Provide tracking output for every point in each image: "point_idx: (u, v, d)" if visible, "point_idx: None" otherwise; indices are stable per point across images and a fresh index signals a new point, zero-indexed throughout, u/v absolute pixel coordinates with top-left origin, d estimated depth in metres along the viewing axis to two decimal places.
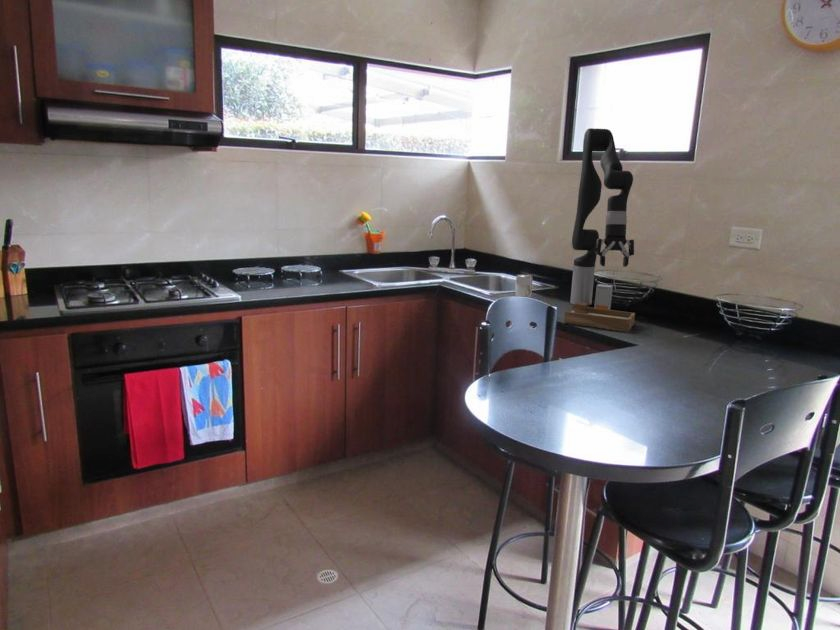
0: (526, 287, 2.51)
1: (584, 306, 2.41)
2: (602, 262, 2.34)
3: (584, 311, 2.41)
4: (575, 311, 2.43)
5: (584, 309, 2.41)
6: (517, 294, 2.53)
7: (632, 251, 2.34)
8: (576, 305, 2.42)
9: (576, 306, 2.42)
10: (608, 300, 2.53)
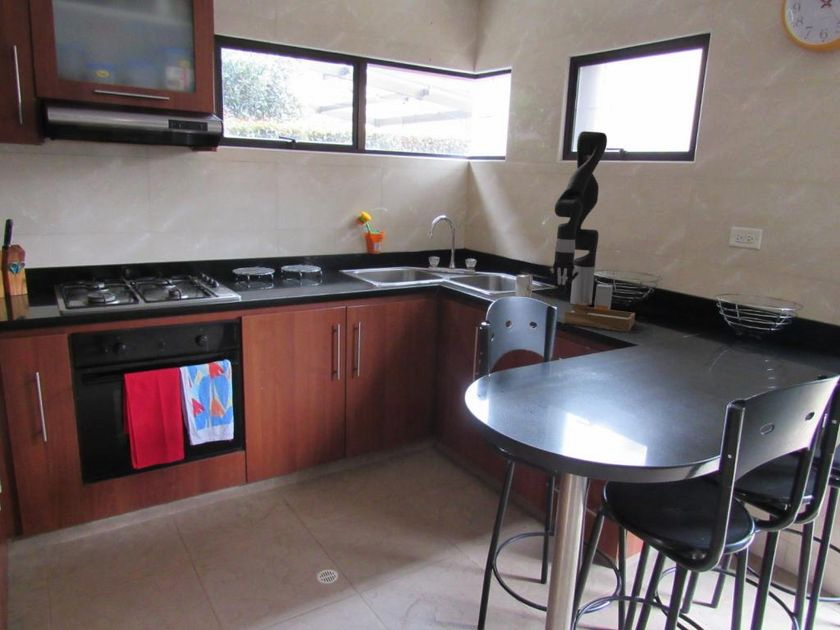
0: (526, 287, 2.51)
1: (584, 306, 2.41)
2: (559, 290, 2.45)
3: (584, 311, 2.41)
4: (575, 311, 2.43)
5: (584, 309, 2.41)
6: (517, 294, 2.53)
7: (568, 280, 2.42)
8: (576, 305, 2.42)
9: (576, 306, 2.42)
10: (608, 300, 2.53)
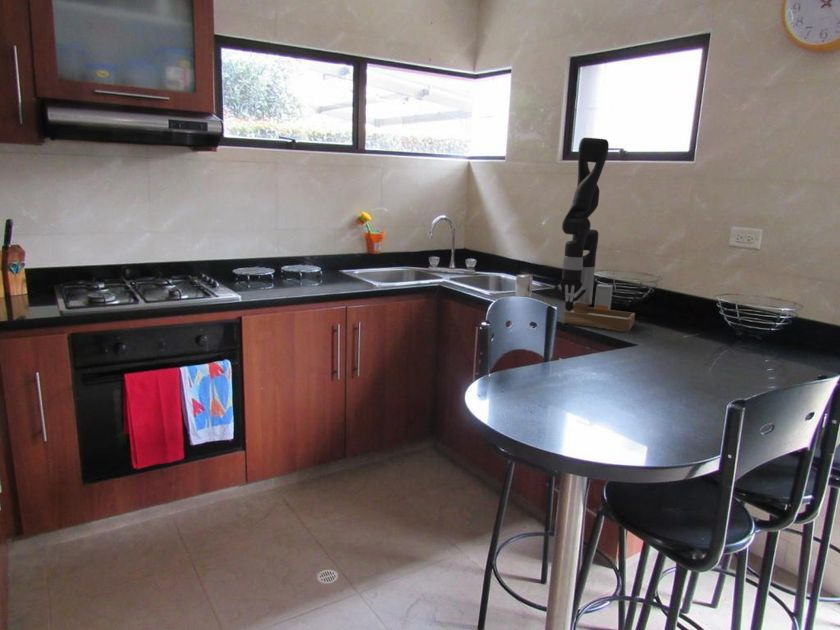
0: (526, 287, 2.51)
1: (584, 306, 2.41)
2: (566, 307, 2.45)
3: (584, 311, 2.41)
4: (575, 311, 2.43)
5: (584, 309, 2.41)
6: (517, 294, 2.53)
7: (575, 297, 2.43)
8: (576, 305, 2.42)
9: (576, 306, 2.42)
10: (608, 300, 2.53)
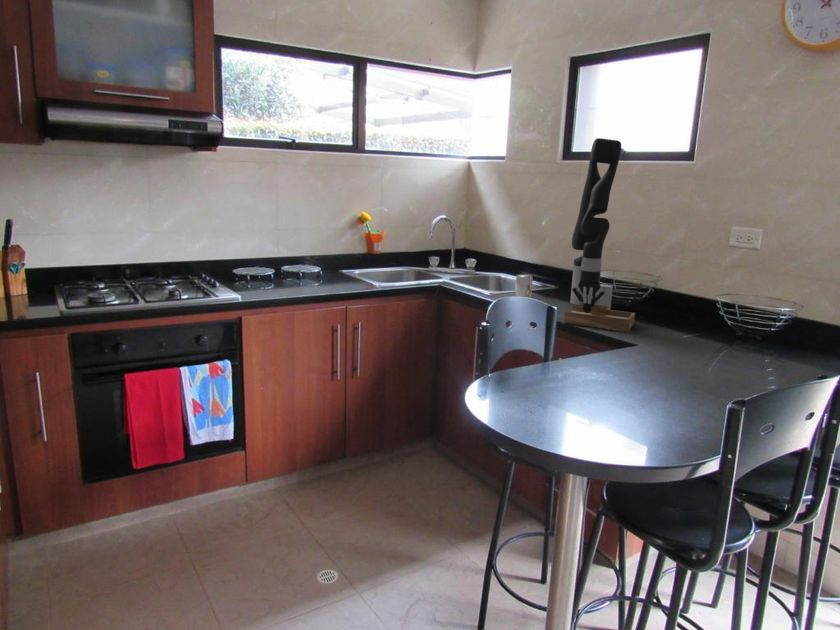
0: (526, 287, 2.51)
1: (602, 308, 2.38)
2: (584, 309, 2.42)
3: (602, 313, 2.38)
4: (593, 313, 2.40)
5: (602, 311, 2.38)
6: (517, 294, 2.53)
7: (594, 299, 2.39)
8: (594, 307, 2.39)
9: (594, 308, 2.39)
10: (608, 300, 2.53)
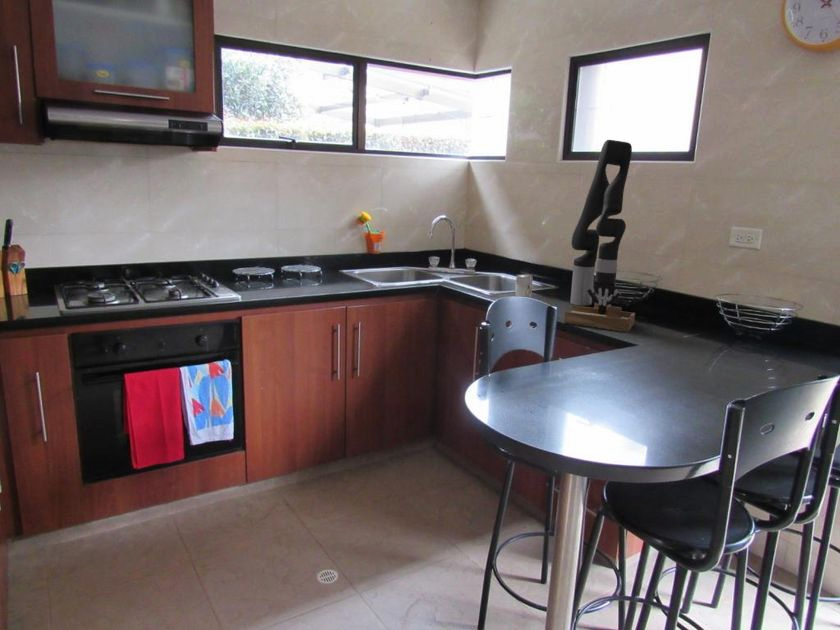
0: (526, 287, 2.51)
1: (618, 310, 2.35)
2: (599, 310, 2.40)
3: (618, 315, 2.35)
4: (608, 315, 2.37)
5: (618, 313, 2.35)
6: (517, 294, 2.53)
7: (609, 301, 2.37)
8: (609, 309, 2.36)
9: (609, 310, 2.37)
10: (608, 300, 2.53)
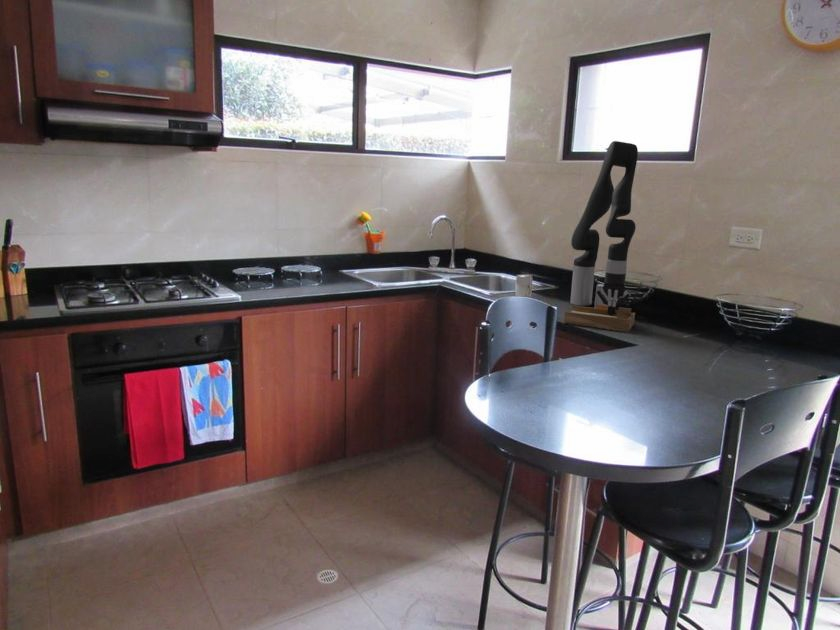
0: (526, 287, 2.51)
1: (627, 311, 2.34)
2: (608, 312, 2.38)
3: (627, 317, 2.34)
4: (618, 316, 2.36)
5: (627, 314, 2.34)
6: (517, 294, 2.53)
7: (619, 302, 2.35)
8: (619, 310, 2.35)
9: (619, 311, 2.35)
10: None
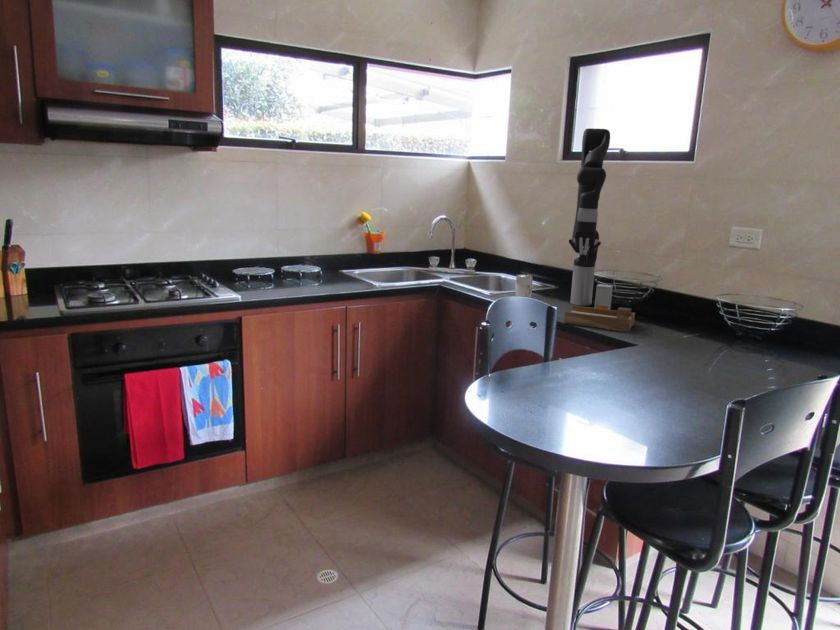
0: (526, 287, 2.51)
1: (627, 311, 2.34)
2: (580, 260, 2.43)
3: (627, 317, 2.34)
4: (618, 316, 2.36)
5: (627, 314, 2.34)
6: (517, 294, 2.53)
7: (590, 250, 2.40)
8: (619, 310, 2.35)
9: (619, 311, 2.35)
10: (608, 300, 2.53)
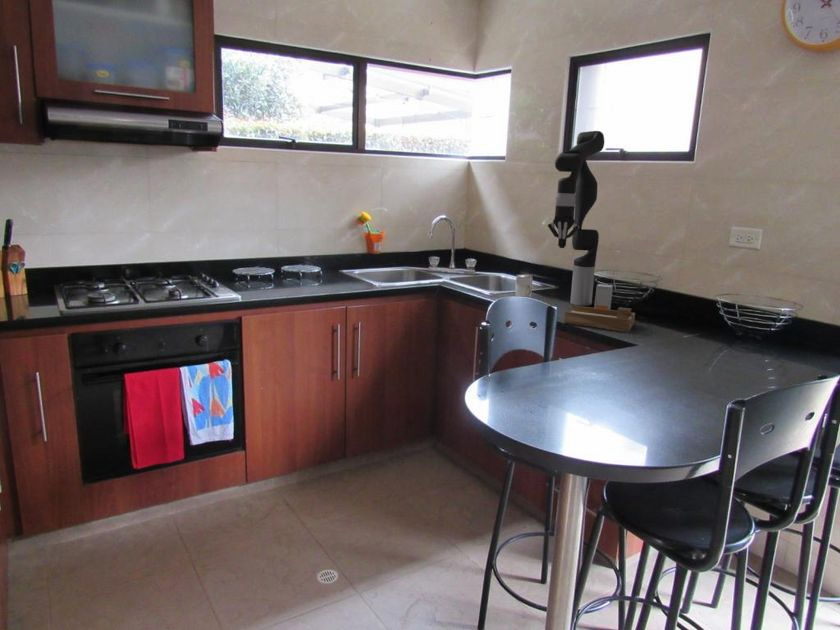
0: (526, 287, 2.51)
1: (627, 311, 2.34)
2: (559, 244, 2.50)
3: (627, 317, 2.34)
4: (618, 316, 2.36)
5: (627, 314, 2.34)
6: (517, 294, 2.53)
7: (568, 234, 2.47)
8: (619, 310, 2.35)
9: (619, 311, 2.35)
10: (608, 300, 2.53)
